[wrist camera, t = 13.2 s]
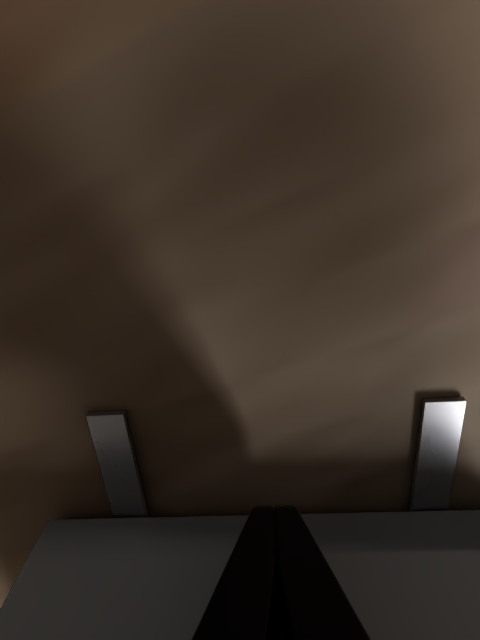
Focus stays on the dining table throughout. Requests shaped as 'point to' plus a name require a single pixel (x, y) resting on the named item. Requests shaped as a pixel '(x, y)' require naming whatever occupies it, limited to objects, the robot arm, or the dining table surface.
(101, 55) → the dining table surface
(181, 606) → the tray
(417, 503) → the rails
